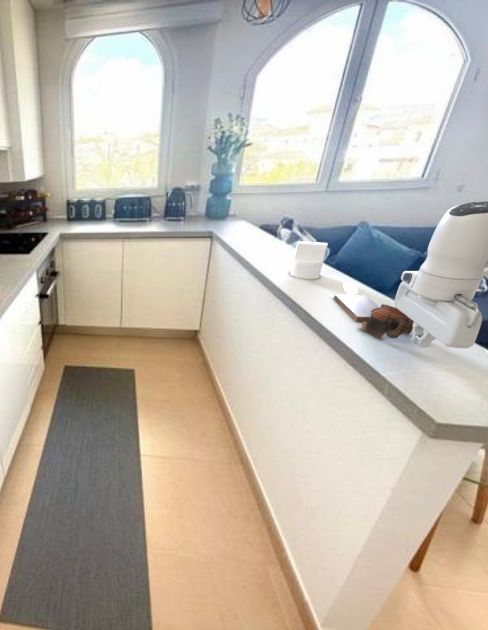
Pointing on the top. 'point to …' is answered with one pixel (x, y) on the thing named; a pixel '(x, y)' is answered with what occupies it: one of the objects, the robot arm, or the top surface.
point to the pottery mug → (380, 324)
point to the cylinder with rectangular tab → (308, 259)
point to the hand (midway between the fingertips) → (419, 344)
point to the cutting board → (357, 306)
